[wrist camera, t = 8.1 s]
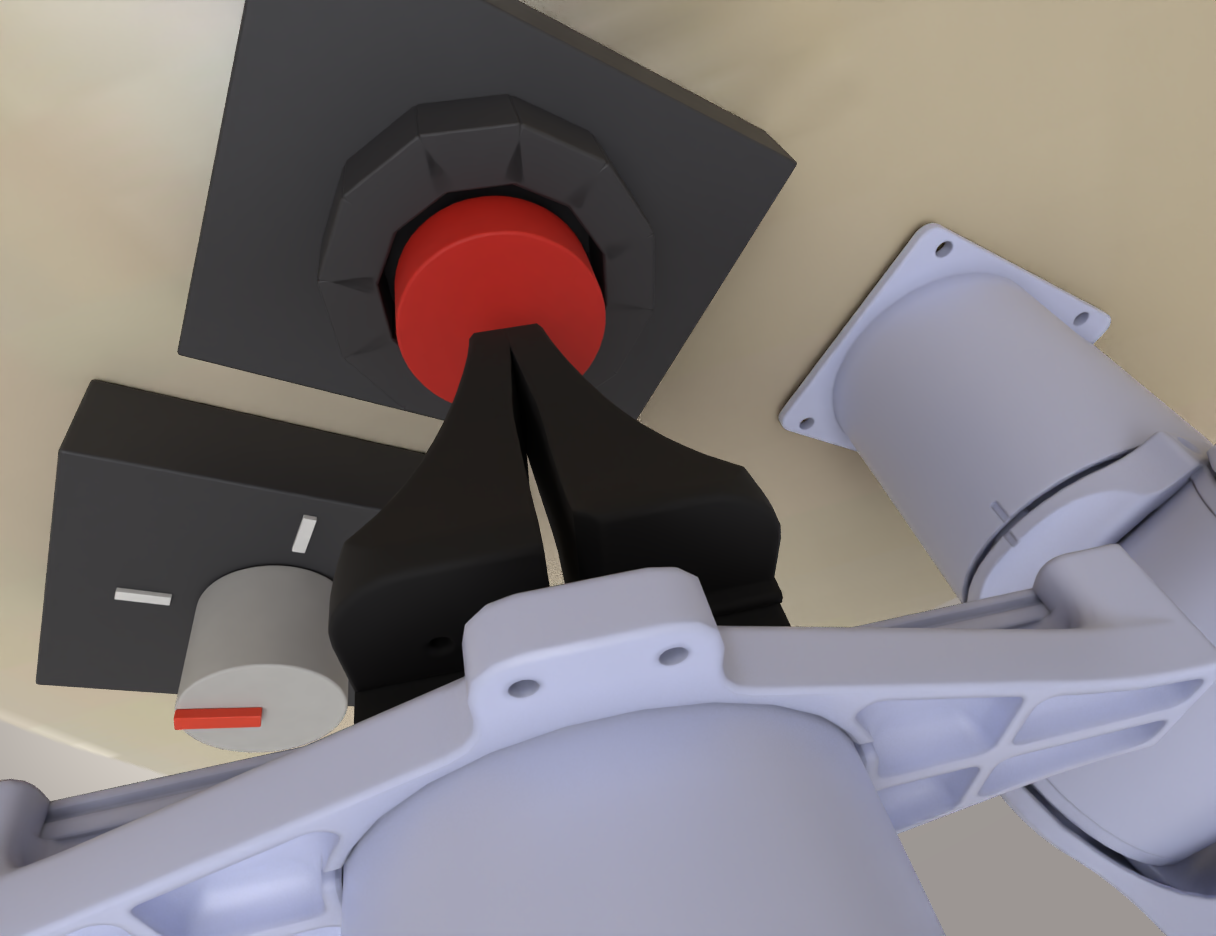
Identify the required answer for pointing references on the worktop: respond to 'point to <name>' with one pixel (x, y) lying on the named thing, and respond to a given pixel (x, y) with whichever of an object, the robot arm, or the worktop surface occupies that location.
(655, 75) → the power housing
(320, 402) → the worktop surface
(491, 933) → the robot arm
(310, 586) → the timer dial
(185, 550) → the timer panel
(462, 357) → the power button
